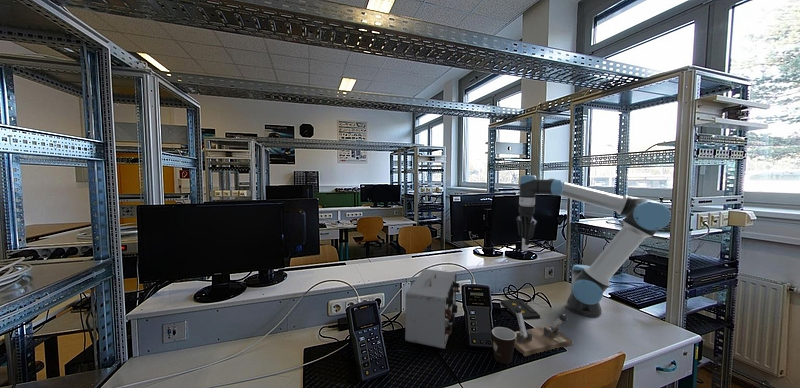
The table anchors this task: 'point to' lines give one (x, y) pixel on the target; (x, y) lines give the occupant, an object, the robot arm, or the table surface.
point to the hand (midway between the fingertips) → (524, 250)
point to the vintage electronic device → (431, 308)
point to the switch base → (540, 340)
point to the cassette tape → (526, 309)
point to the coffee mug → (503, 344)
